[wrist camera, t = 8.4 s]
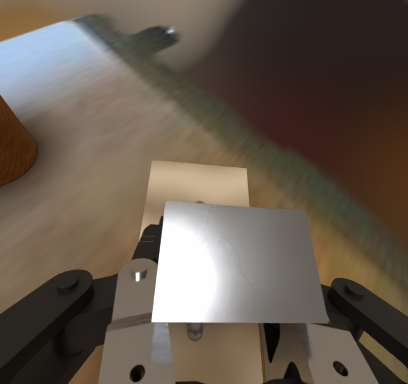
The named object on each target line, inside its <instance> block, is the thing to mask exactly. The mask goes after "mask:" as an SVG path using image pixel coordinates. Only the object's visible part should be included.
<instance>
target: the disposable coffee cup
mask: <svg viewBox="0 0 408 384" xmlns="http://www.w3.org/2000/svg"><path fill="white" fill-rule="evenodd" d="M37 151H38V149H37V144H36V143H35V141H34V139H33V138H32V137H31V136H30V134H29V133H28V132H27V130H26V129H25V128H24V126H23V125H22V123H21V122H20V121H19V120H18V118H17V117H16V116H15V114H14V113H13V112H12V110H11V109H10V107H9V106H8V105H7V104H6V102H5V101H4V99H3V98H2V97H1V96H0V185H3V184H6V183H8V182H10V181H13V180H15V179H17V178H18V177H20V176H21V175H23V174H24V173H25V172H26V171H27V170H28V169H29V168H30V167H31V166H32V165H33V163H34V161H35V159H36V157H37Z"/></svg>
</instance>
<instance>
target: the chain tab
mask: <svg viewBox="0 0 408 384" xmlns="http://www.w3.org/2000/svg"><path fill="white" fill-rule="evenodd" d="M152 322H188V324H187V335H188V338H189V339H190V340H191V341H194V342H196V341H198V340H200V339H201V337H202V335H203V322H219V323H328V318H327V313H326V309H325V304H324V299H323V294H322V289H321V284H320V280H319V275H318V270H317V265H316V260H315V255H314V251H313V246H312V241H311V236H310V231H309V226H308V222H307V217H306V212H305V211H302V210H287V209H273V208H259V207H244V206H230V205H215V204H205V203H204V202H202V201H197V202H196V203H187V202H172V201H166V204H165V212H164V221H163V229H162V238H161V246H160V255H159V263H158V272H157V280H156V288H155V297H154V305H153V314H152Z"/></svg>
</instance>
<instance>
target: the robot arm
mask: <svg viewBox="0 0 408 384" xmlns="http://www.w3.org/2000/svg"><path fill="white" fill-rule="evenodd" d="M163 221H164V216H161V218H160V221H159V225H158V224H150V225H149V226H147V227H146V228H145V229H144V231H143V233H142V236H141V238H140V241H139V243H138V245H137V248H136V250H135V252H134V255H133V257H132V260H131V261H129V262H127V263H125V264H124V265H123V266H122V267H121V268H120V270H119V273H117V274H115V275H112V276H109V277H104V278H99V279H94V280H93V277H92V275H91V273H89V272H88V271H85V270H70V271H66V272H63V273H61V274H58V275H56V276H55V277H53V278H51V279H50V280H49V281H47V282H46V283H44V284H43V285H41V286H40V287H38V288H37V289H36V290H34V291H33V292H31V293H30V294H28V295H27V296H26V297H24V298H23V299H21V300H20V301H18V302H17V303H16V304H14V305H13V306H11V307H10V308H8V309H7V310H6V311H4V312H3V313H1V314H0V384H68V383H69V381H70V380H71V379H72V378H73V376H74V375H75V374H76V372H77V371H78V370H79V369H80V367H81V366H82V365H83V363H84V362H85V361H86V360H87V358H88V357H89V356H90V354H91V353H92V352H93V351H94V349H95V348H96V346H99V345H102V344H104V349H103V355H102V361H101V368H100V374H99V380H98V384H205V383H202V382H198V381H179V382H175V376H174V368H173V361H172V353H171V345H170V337H169V330H168V322H152V314H153V305H154V297H155V288H156V280H157V272H158V263H159V255H160V246H161V238H162V229H163ZM321 289H322V294H323V299H324V304H325V309H326V313H327V318H328V323H260V330H261V338H262V346H263V354H264V362H265V383H262V384H407V383H405V382H404V381H402V380H401V379H400V378H398V377H397V376H396V375H395V374H394V373H393V372H392V371H391V370H390V369H388V368H387V367H386V366H385V365H384V364H383V363H382V362H381V361H380V360H379V359H377V358H376V357H375V356H374V355H373V354H372V353H371V352H370V351H369V350H368V349H366V348H365V347H364V346H363V345H362V344H361V343H360V342H359V339H360V337H361V336H362V334H363V332H364V331H365V332H366V333H368V334H369V335H370V336H371V337H372V338H374V339H375V340H376V341H377V342H378V343H379V344H381V345H382V346H383V347H384V348H385V349H387V350H388V351H389V352H390V353H391V354H392V355H394V356H395V357H396V358H397V359H398V360H399V361H401V362H402V363H403V364H404V365H405V366H406V367H407V368H408V317H407V316H406V315H404V314H403V313H402V312H400V311H399V310H397V309H396V308H394V307H393V306H391V305H390V304H388V303H387V302H385V301H384V300H382V299H381V298H379V297H378V296H377V295H375V294H374V293H372V292H371V291H369V290H368V289H366V288H365V287H363V286H362V285H360V284H358V283H356V282H354V281H352V280H349V279H345V278H336V279H334V280H333V281H332V284H331V286H330V287H329V286H325V285H321Z"/></svg>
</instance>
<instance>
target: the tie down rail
mask: <svg viewBox="0 0 408 384" xmlns="http://www.w3.org/2000/svg"><path fill="white" fill-rule="evenodd" d="M166 201H172V202H187V203H196V202H197V201H202V202H204V203H205V204H215V205H230V206H244V207H249V197H248V184H247V171H246V169H245V168H234V167H223V166H211V165H200V164H189V163H178V162H167V161H156V160H152V166H151V172H150V178H149V184H148V190H147V196H146V202H145V208H144V214H143V220H142V226H141V232H140V238H141V236H142V233H143V231H144V229H145V228H146V227H147V226H149V225H150V224H158V225H159V221H160V218H161V216H164V212H165V204H166ZM140 238H139V241H140ZM187 324H188V322H168V330H169V337H170V345H171V353H172V361H173V368H174V376H175V382H179V381H198V382H202V383H205V384H262V383H263V375H262V362H261V349H260V336H259V324H258V323H219V322H203V335H202V337H201V339H200V340H198V341H196V342H194V341H191V340H190V339H189V338H188V335H187Z"/></svg>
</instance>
